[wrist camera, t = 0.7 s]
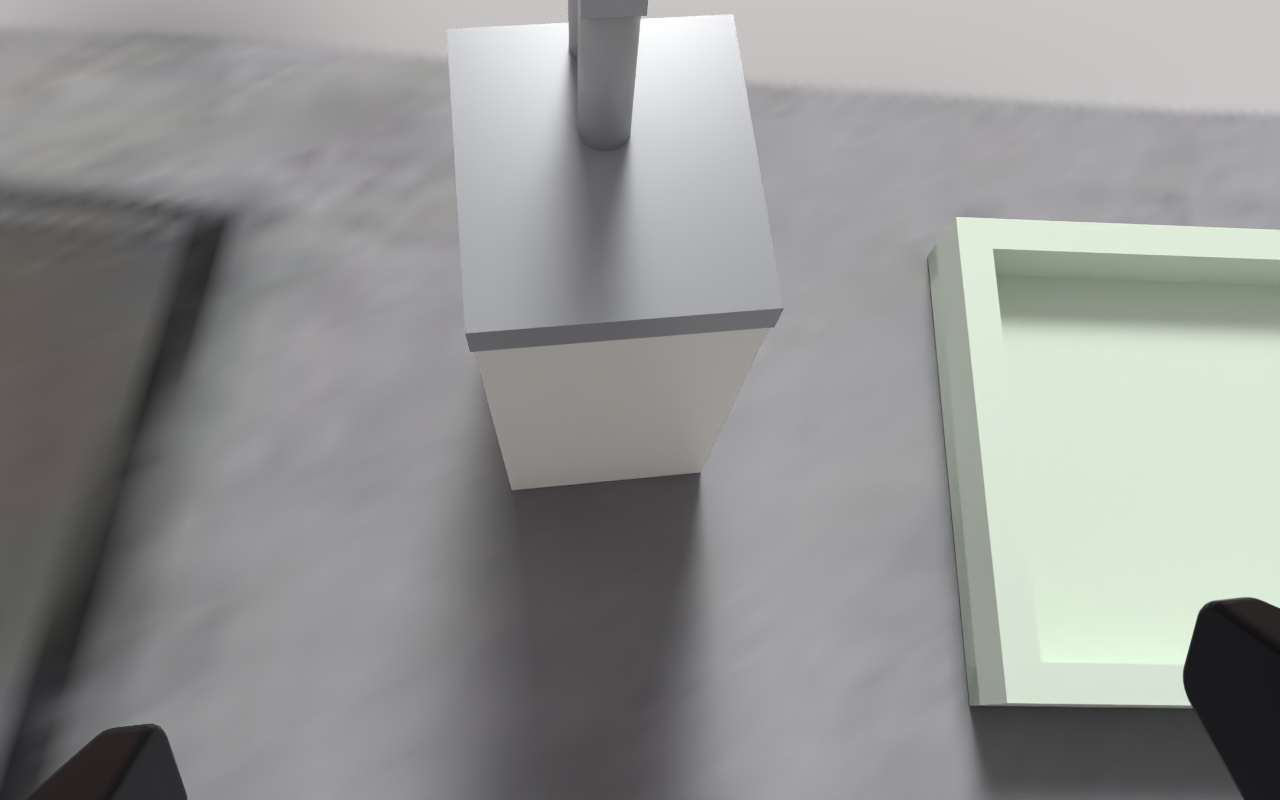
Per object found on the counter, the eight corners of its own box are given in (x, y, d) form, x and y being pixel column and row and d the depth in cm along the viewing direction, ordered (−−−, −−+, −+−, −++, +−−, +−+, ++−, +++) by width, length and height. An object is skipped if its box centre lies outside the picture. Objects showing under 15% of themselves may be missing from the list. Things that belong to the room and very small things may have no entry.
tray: (1413, 274, 26) (1478, 238, 24) (1530, 712, 22) (1619, 710, 20) (927, 255, 25) (955, 217, 23) (969, 705, 22) (1007, 702, 20)
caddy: (702, 473, 23) (847, 176, 11) (509, 492, 23) (429, 205, 10) (675, 276, 25) (774, -181, 12) (494, 290, 24) (409, -169, 12)
